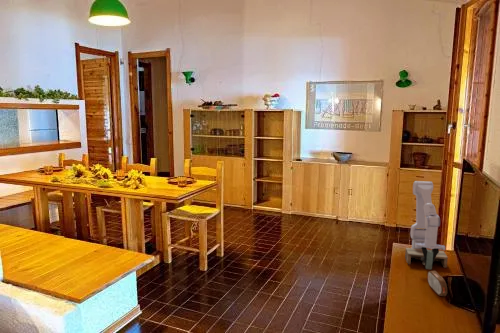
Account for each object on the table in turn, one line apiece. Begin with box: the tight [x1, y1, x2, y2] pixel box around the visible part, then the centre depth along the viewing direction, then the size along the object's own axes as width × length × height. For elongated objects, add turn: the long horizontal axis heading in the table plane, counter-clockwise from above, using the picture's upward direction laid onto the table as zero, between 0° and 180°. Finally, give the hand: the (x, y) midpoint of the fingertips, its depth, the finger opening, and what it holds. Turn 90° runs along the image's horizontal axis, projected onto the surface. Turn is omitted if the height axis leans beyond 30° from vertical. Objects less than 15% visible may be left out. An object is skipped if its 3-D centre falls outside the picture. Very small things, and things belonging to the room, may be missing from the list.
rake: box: [420, 249, 434, 271], centre depth 204 cm, size 11×4×10 cm, turn 166°
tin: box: [427, 270, 448, 297], centre depth 177 cm, size 15×3×8 cm, turn 179°
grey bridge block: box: [404, 247, 449, 269], centre depth 208 cm, size 9×20×6 cm, turn 76°
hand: (428, 260), depth 201 cm, fingers closed on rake, 3 cm apart
